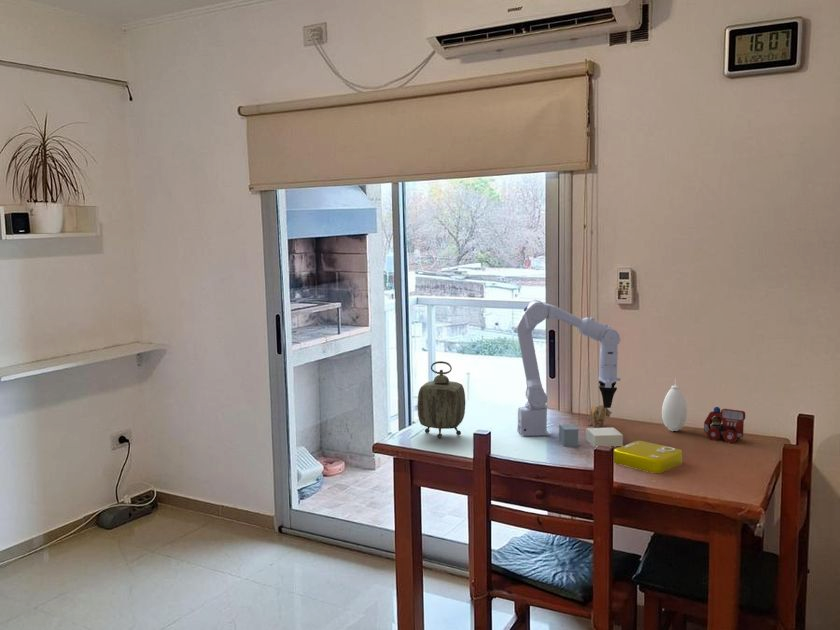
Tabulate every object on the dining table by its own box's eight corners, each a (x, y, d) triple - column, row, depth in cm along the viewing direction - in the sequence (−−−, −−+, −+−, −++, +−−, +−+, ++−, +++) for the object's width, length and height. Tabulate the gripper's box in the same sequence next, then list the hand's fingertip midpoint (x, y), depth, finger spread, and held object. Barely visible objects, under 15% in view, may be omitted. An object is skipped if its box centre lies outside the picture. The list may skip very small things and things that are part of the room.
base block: (594, 448, 227) (594, 435, 227) (585, 440, 236) (586, 428, 236) (622, 447, 228) (622, 435, 227) (613, 439, 237) (613, 427, 236)
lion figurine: (612, 432, 244) (613, 406, 243) (597, 433, 243) (598, 406, 242) (596, 421, 258) (596, 396, 257) (581, 422, 257) (582, 397, 256)
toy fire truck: (708, 433, 242) (709, 403, 241) (747, 440, 234) (748, 408, 233) (700, 438, 237) (702, 406, 236) (740, 445, 229) (742, 412, 228)
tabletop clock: (465, 434, 241) (465, 360, 239) (459, 442, 233) (459, 364, 230) (423, 431, 245) (423, 358, 242) (415, 438, 237) (415, 362, 234)
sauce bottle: (689, 430, 246) (691, 377, 244) (680, 435, 240) (683, 381, 238) (666, 426, 251) (668, 375, 249) (657, 431, 245) (659, 378, 243)
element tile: (637, 453, 222) (638, 438, 221) (684, 464, 211) (685, 448, 211) (610, 464, 212) (611, 447, 211) (658, 476, 201) (658, 459, 200)
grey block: (564, 446, 228) (564, 429, 227) (558, 441, 234) (559, 424, 233) (578, 446, 228) (578, 429, 228) (572, 441, 234) (573, 424, 234)
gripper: (621, 368, 232) (620, 410, 233) (620, 361, 246) (618, 400, 247) (599, 367, 233) (597, 409, 235) (598, 360, 247) (597, 399, 249)
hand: (607, 405), depth 241 cm, fingers open, 7 cm apart
